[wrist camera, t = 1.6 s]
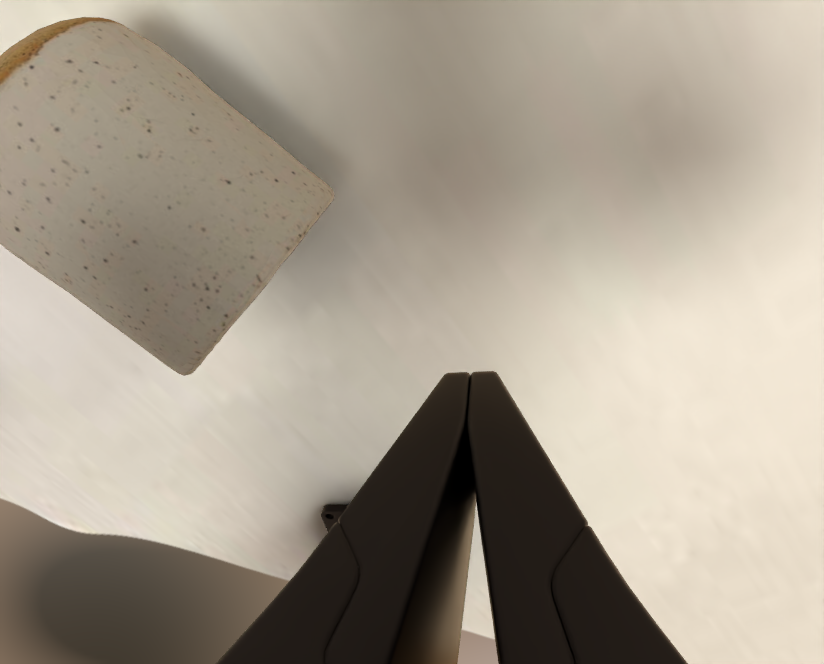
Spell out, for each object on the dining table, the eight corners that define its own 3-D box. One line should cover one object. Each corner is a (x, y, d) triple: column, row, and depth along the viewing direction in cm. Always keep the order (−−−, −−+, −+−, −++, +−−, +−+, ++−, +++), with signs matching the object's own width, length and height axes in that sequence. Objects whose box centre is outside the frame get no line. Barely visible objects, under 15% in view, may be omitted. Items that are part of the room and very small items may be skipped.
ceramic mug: (145, -20, 16) (-81, 6, 10) (360, 162, 18) (291, 275, 12) (52, 219, 21) (-127, 332, 15) (226, 333, 24) (132, 468, 18)
